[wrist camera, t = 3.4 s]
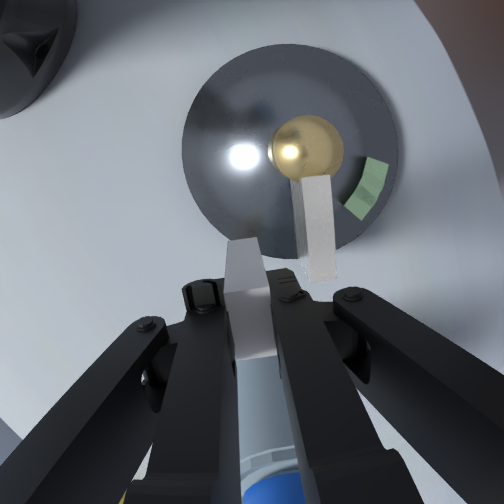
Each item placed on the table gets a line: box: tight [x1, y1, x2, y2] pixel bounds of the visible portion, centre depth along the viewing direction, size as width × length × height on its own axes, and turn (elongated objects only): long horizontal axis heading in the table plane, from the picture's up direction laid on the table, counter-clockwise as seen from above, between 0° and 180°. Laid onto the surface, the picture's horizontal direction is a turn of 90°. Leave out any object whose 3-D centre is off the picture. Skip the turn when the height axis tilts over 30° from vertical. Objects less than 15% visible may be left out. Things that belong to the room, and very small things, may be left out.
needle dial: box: [268, 115, 344, 283], centre depth 22 cm, size 11×4×5 cm, turn 8°
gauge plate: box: [182, 44, 398, 259], centre depth 24 cm, size 17×17×1 cm
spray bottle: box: [235, 355, 306, 504], centre depth 18 cm, size 9×9×25 cm
